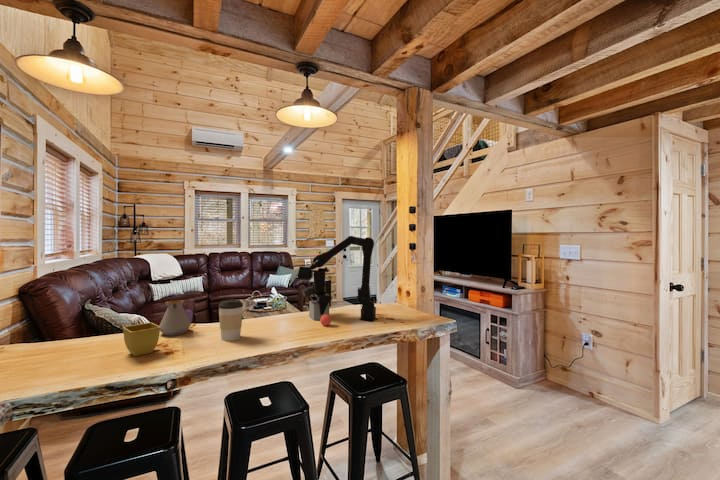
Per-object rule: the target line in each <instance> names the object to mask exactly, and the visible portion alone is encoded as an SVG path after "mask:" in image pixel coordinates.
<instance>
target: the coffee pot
mask: <svg viewBox="0 0 720 480" xmlns="http://www.w3.org/2000/svg"><path fill="white" fill-rule="evenodd" d="M184 302H185V301H184V300H183V299H173V300H169V301H168V300H167V301H165V302H164V304H165V305H166V306H167V308H166V311H165V312H164V315H163V317H162V319H161V321H160V323H159V325H158V326H160V333H162V334H163V335H165V336H170V337H171V336H178V335H182V334H185V333H186V332H187V331H188V330H189V329H190V327H191V324H192V323H191V322H190V319H189V318H188V315H187V313H186V311H185V309H184V307H183V303H184Z"/></svg>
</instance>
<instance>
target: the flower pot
mask: <svg viewBox="0 0 720 480" xmlns="http://www.w3.org/2000/svg"><path fill="white" fill-rule="evenodd" d="M122 333H123V339H124V344H125V346H126V349H127V350H128V351H129V353H130V354H131V355H133V356H134V357H138V356H141V355H147V354H151V353H153V352H154V350H155V349H156V347H157V345H158V343H159V340H160V339H159V338H160V333H161V331H160V326H159V325H158V324H156V323H154V322H145V323H140V324H133V325H132V324H131V325H127V326H122Z"/></svg>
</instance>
